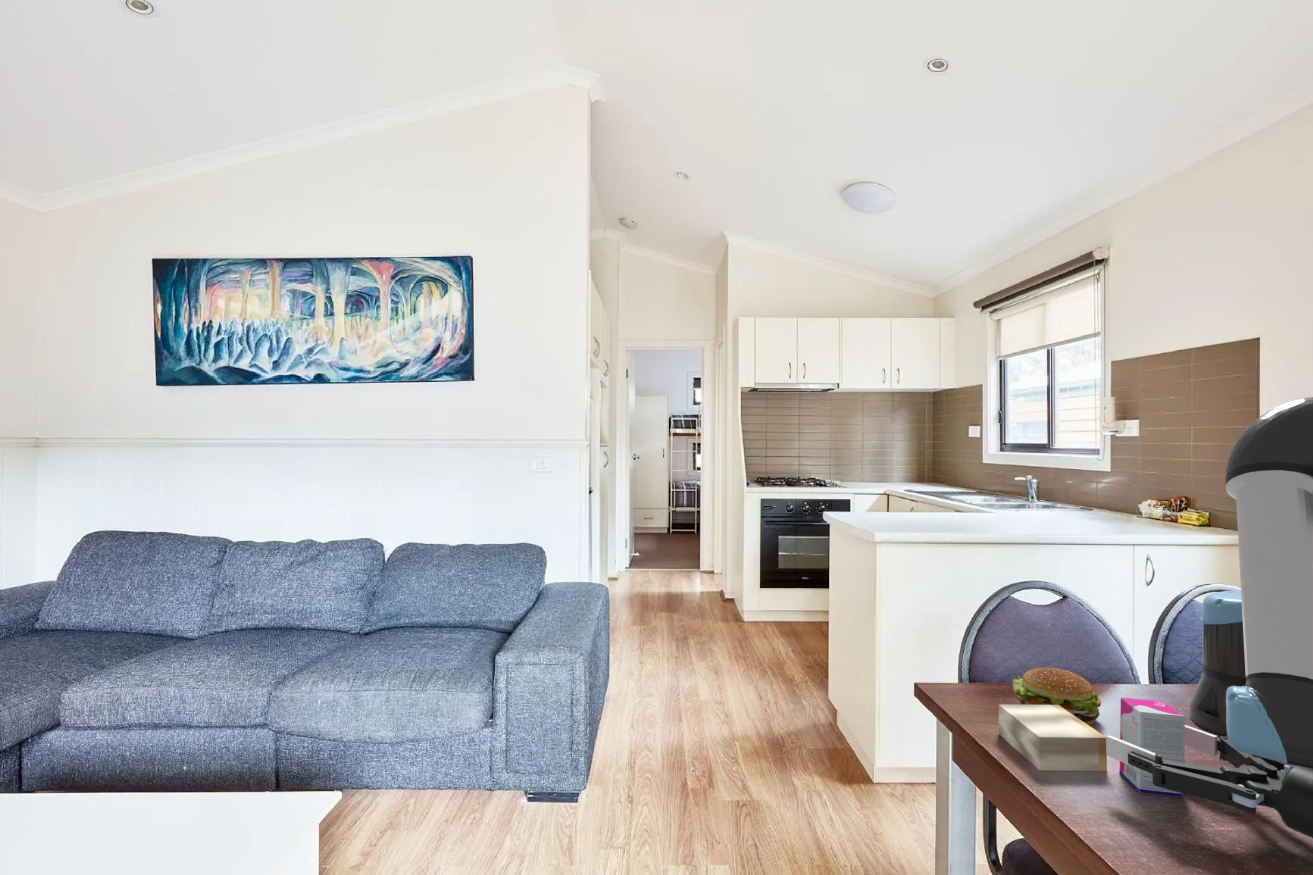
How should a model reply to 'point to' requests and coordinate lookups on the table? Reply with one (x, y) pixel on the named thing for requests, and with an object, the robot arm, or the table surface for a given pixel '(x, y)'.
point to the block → (1052, 738)
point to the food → (1058, 692)
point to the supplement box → (1151, 739)
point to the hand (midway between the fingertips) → (1136, 735)
